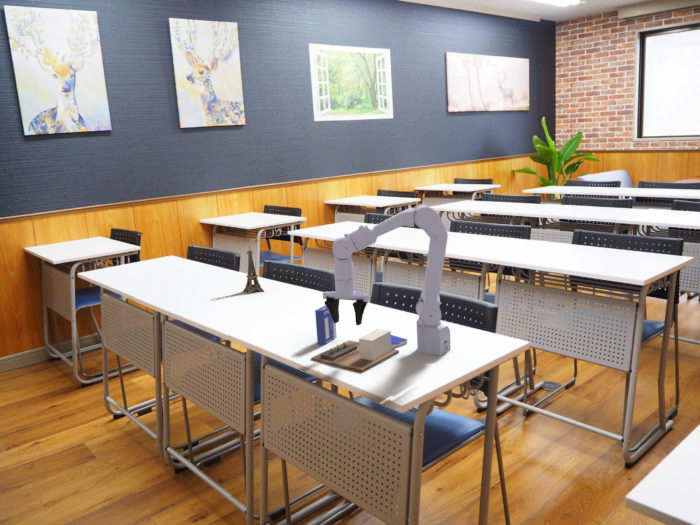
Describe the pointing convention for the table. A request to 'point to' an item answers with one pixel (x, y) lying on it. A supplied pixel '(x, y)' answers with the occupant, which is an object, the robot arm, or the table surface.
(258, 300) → the table surface
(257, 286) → the eiffel tower
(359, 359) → the board
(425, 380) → the table surface
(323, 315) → the walkman
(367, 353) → the block
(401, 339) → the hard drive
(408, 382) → the table surface
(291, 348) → the table surface
